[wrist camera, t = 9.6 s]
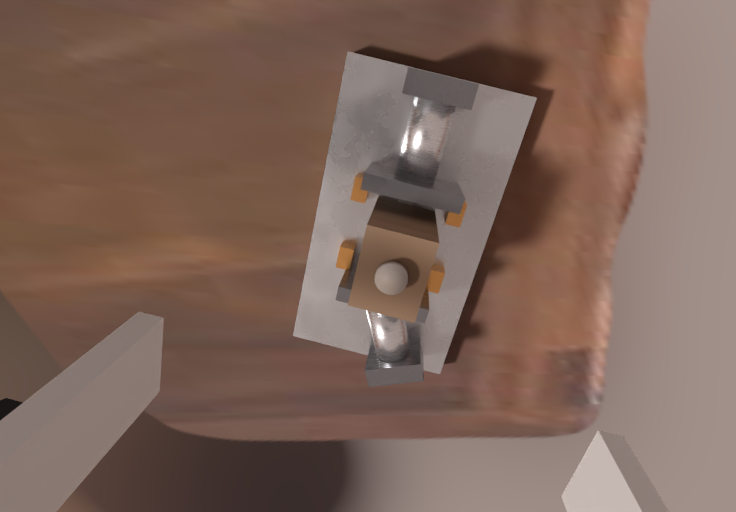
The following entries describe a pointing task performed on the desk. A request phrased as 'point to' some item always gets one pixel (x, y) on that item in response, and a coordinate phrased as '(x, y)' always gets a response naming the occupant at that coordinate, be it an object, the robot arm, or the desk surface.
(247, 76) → the desk surface
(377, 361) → the shaft
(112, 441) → the robot arm
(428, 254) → the block
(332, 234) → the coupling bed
